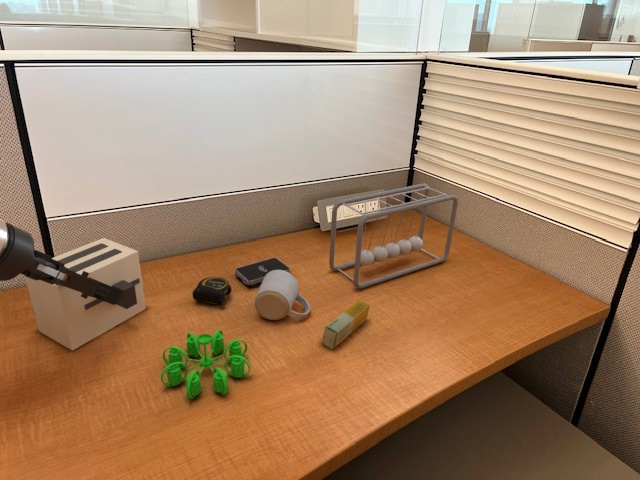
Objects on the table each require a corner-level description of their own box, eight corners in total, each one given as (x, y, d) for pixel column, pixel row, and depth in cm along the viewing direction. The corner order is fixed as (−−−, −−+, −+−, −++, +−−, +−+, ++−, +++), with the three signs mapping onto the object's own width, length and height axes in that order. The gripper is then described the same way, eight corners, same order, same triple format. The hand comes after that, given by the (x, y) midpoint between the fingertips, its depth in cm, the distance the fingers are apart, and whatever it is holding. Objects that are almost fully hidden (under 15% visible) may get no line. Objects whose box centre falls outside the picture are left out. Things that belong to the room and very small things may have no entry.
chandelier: (180, 419, 70) (176, 383, 68) (147, 363, 81) (142, 329, 78) (268, 381, 79) (268, 346, 76) (227, 334, 90) (226, 303, 87)
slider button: (115, 303, 88) (111, 285, 87) (125, 298, 90) (123, 279, 88) (126, 309, 87) (123, 290, 85) (137, 303, 89) (134, 284, 87)
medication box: (333, 350, 87) (336, 333, 85) (321, 343, 88) (323, 326, 86) (367, 319, 95) (370, 303, 93) (355, 313, 97) (358, 297, 95)
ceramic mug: (252, 320, 94) (252, 286, 90) (263, 298, 101) (263, 266, 98) (305, 327, 93) (307, 294, 89) (312, 305, 100) (314, 272, 97)
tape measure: (191, 304, 98) (190, 288, 97) (207, 288, 104) (206, 273, 103) (221, 310, 97) (221, 294, 95) (236, 293, 103) (235, 278, 101)
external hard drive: (234, 276, 109) (234, 268, 108) (275, 264, 115) (275, 256, 114) (249, 289, 104) (248, 281, 103) (291, 276, 110) (291, 268, 109)
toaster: (38, 331, 88) (22, 268, 82) (113, 293, 100) (103, 236, 95) (72, 351, 83) (58, 286, 78) (146, 309, 96) (138, 250, 90)
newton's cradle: (354, 291, 105) (361, 217, 98) (327, 271, 113) (331, 201, 105) (448, 260, 121) (460, 194, 113) (419, 244, 129) (428, 181, 121)
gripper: (-51, 259, 66) (82, 306, 86) (0, 285, 60) (130, 328, 80) (-20, 211, 68) (102, 268, 88) (32, 232, 62) (151, 287, 82)
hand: (115, 297), depth 84 cm, fingers closed
